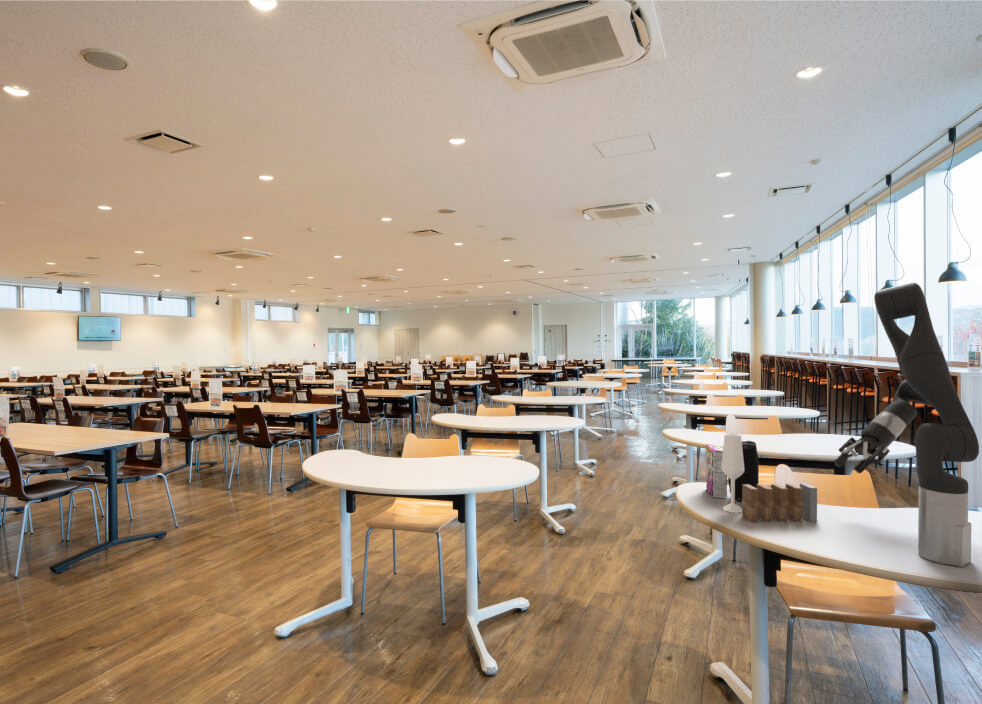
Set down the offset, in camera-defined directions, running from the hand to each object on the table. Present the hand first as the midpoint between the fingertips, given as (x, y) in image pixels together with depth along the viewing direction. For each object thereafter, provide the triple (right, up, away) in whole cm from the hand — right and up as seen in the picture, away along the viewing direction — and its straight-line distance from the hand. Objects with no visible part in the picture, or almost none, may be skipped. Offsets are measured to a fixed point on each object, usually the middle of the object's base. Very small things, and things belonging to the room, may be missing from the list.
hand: (846, 468), depth 158 cm
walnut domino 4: (-16, -15, 0) cm, 22 cm away
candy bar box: (-28, -15, +26) cm, 41 cm away
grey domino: (-11, -15, 0) cm, 19 cm away
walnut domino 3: (-20, -15, 0) cm, 26 cm away
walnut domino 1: (-29, -15, 0) cm, 33 cm away
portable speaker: (-22, -15, +20) cm, 33 cm away
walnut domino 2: (-25, -15, 0) cm, 29 cm away
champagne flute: (-30, -15, +9) cm, 35 cm away
